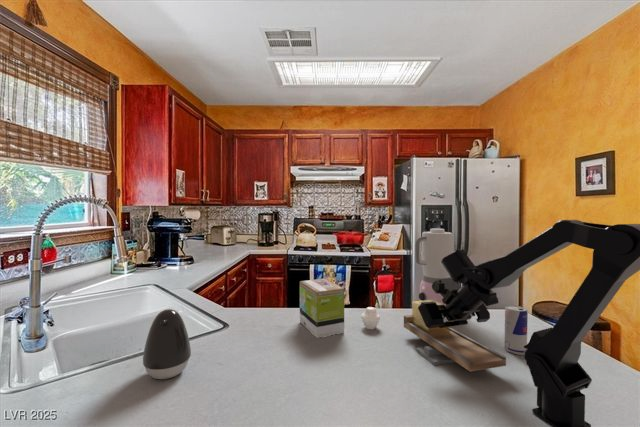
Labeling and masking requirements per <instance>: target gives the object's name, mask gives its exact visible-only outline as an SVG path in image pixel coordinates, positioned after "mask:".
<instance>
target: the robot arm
mask: <svg viewBox="0 0 640 427" xmlns="http://www.w3.org/2000/svg"><path fill="white" fill-rule="evenodd" d="M572 244H573V245H577V246H579V247H583V248H586V249H590V250H593V251H592V262H591V263H592V265H591V269H590V271H589V272H588V274H587V275H586V277H585V278H584V280H582V283H581V284H580V285H579V288H578V289H577V290H576V292H575V293H574V295H573V296H572V298H571V299H570V300H569V303H568V304H567V305H566V307H565V308H564V310H563V311H562V313H561V315H560V316H559V318H558V319H557V321H556V322H555V323H554V325H553V327H549V328H544V329H541V330H536V331H534V332H533V333H532V335H531V336H530V339H529V342H527V345H525V346H524V348H526V349H527V350H526V351H525V354H524V355H523V357H524V358H523V359H524V360H525V363H526V365H527V366H528V368H529V372H530V376H531V378H532V379H531V380H532V381H533V385H534V387H536V407H535V408H532V413H533V414H534V415H536V416H537V417H539V418H540V419H542V420H543V421H545V422H547V423H548V424H549V425H551V426H552V427H592V424H591V423H590V422H588V421H586V419H585V417H586V416H585V415H586V411H585V410H586V409H585V408H586V395H585V394H584V393H582V392H581V390H584V389H588V388H589V387H590V385H591V383H592V381H593V379H592V378H591V376H590V375H589V374H588V373H587V371H586V370H585V369H584V368H583V367H582V365H581V364H580V363H579V360H580V357H581V355H582V354H581V352H582V342H583V340H584V338H585V337H586V336H587V334H588V333H589V332H590V330H591V329H592V327H593V326H594V325H595V324H596V322H597V320H598V319H599V318H600V317H601V315H602V313H603V312H604V311H605V309H606V308H607V307H608V305H609V304H610V303H611V301H612V300H613V298H615V296H616V294H617V292H618V291H620V289H621V287H622V286H623V285H624V283H625V282H626V281H627V280H628V279H630V278H631V277H633V275H635V274H637V273H638V272H639V271H640V223H622V224H621V223H620V224H619V223H618V224H613V225H610V224H603V223H594V222H593V223H592V222H587V221H581V220H579V219H560V220H558V221H556V222H555V223H554V224H553V225H552V226H551V227H550V228H547V229H546V230H545V231H543V232H541V233H539V234H538V235H537V236H534V238H531V240H529V241H527V242H525V243H523V244H522V245H520V246H519V247H517V248H515V249H514V250H512V251H511V252H509V253H507V254H505V255H503V256H500V257H495V258H492V259H489V260H487V261H485V262H481V263H479V264H477V265H475V264H474V263H473V261H472V260H471V258H470V257H469V256H468V254H467V252H466V251H465V249H456V251H453V253H452V254H450V255H448V256H447V257H444V258H443V259H442V261H441V263H442V265H443V266H444V268H445V269H446V271H447V272H448V274H449V275H450V278H442V279H439V280H436V281H435V282H433V284H432V289H433V290H434V291H435V293H436V294H439V293H440V294H441V295H442V296H443V297H444V298H443V299H442V301H443V303H444V304H446V306H445V305H437V304H436V303H435V302H433V301H431V302H422V303H421V304H420V305H419V307H418V309H419V312H420V314H421V316H422V318H423V321H424V323H425V325H426V327H428V328H436V327H439V328H445V327H450V328H452V327H457V326H458V327H459V326H466V325H468V324H469V322H468V320H471V319H472V318H473V317H475V316H477V318H475V319H476V322H477V323H479V324H480V323H485V322H488V321H489V320H490V319H491V313H490V311H489V310H488V308H487V307H489V306H492V305H493V306H494V305H497V304H499V298H498V296H497V292H495V291H493V290H494V289H495V290H496V289H501V288H507V287H510V286H511V285H512V284H513V283H515V282H516V281H517V280H518V279H520V277H521V275H522V274H523V272H525V271H526V270H528V269H529V268H531V267H533V266H535V265H537V264H538V263H540V262H541V261H544V260H546V259H547V258H549V257H551V256H553V255H556V253H558V252H560V251H562V250H563V249H565V248H568V247H569V246H571V245H572ZM459 284H462V286H460V285H459Z"/></svg>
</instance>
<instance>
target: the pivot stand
mask: <svg viewBox="0 0 640 427" xmlns="http://www.w3.org/2000/svg"><path fill="white" fill-rule="evenodd" d="M415 350H416V351H415V352H417V353H418V354H420V355H421V356H422V357H424V358H425V359H426V360H427V361H428V362H430V363H431V364H432V365H433V366H437V365H444V364H449V363H450V364H451V363H456V362H455V361H454V360H452V359H451V358H449V357H448V356H446V355H445V354H443V353H442V352H440V351H439V350H437V349H436V348H434V347H433V346H431V345H426V346H422V347H416V349H415Z"/></svg>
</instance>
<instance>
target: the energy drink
mask: <svg viewBox="0 0 640 427" xmlns="http://www.w3.org/2000/svg"><path fill="white" fill-rule="evenodd" d="M528 313H529V312H528V309H527V308H526V307H523V306H519V305H506V306H505V309H504V346H503V347H504V349H505V351H506V352H508V353H510V354H514V355H518V356H519V355H520V356H522V355H523V356H524V354H525V351H526V350H527V349H526V348H524V346H525V345H527V344H528Z"/></svg>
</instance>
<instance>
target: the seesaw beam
mask: <svg viewBox="0 0 640 427" xmlns="http://www.w3.org/2000/svg"><path fill="white" fill-rule="evenodd" d="M403 328H405V329H406V330H408V331H409V332H411V333H412V334H413V335H415V336H416V337H418V338H420V339H421V340H423V341H424V342H426V343H427V344H428V345H429V346H433V347H434V348H436V349H437V350H439V351H440V352H442V353H443V354H445V355H446V356H448V357H449V358H451V359H452V360H454V361H455V362H454V363H457V364H459V365H460V366H461V367H463V368H464V369H466V370H467V371H468V372H474V371H475V372H476V371H481V370H487V369H488V370H489V369H495V368H501V367H506V366H507V357H506V356H504V355H502V354H501V353H499V352H497V351H495V350H494V349H491V348H490V347H488V346H486V345H484V344H482V343H480V342H478V341H476V340H474V339H473V338H471V337H469V336H467V335H465V334H464V333H462V332H459V331H457V330H456V329H454V328H452V327H450V332H445V333H436V334H427V333H426V332H424V331H422V330H421V329H419V328H418V327H416V326H414V325H413V324H412V314H409V315H408V314H406V315H403Z"/></svg>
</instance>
